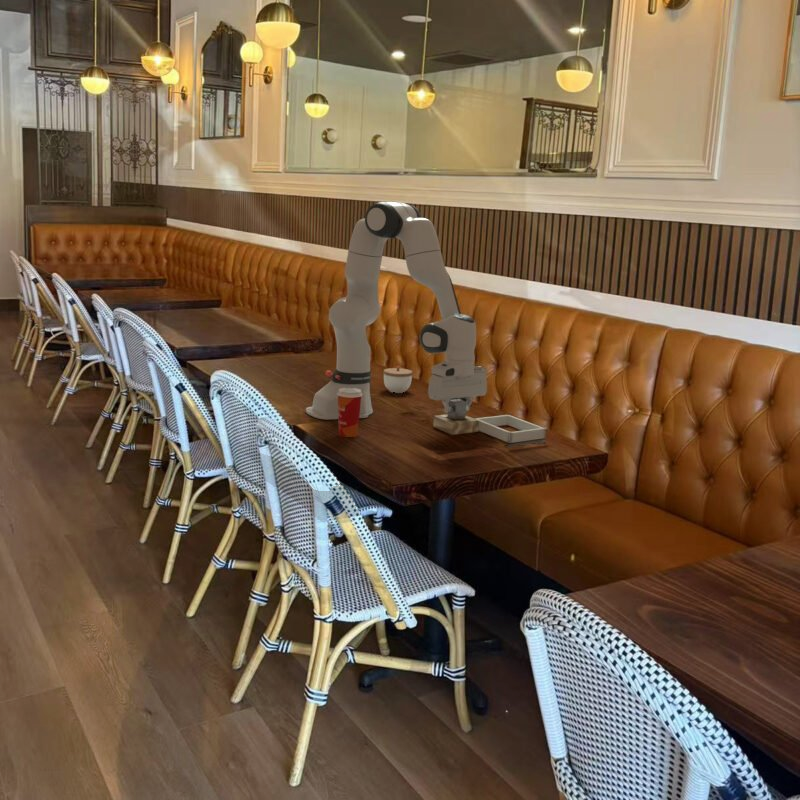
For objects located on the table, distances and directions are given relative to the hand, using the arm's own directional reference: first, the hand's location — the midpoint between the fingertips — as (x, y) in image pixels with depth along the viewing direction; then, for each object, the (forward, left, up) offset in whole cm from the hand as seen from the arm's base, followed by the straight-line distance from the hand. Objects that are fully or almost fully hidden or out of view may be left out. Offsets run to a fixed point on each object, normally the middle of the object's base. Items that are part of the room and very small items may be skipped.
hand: (456, 411), depth 270 cm
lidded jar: (+14, +57, -7) cm, 59 cm away
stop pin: (0, 0, -6) cm, 6 cm away
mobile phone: (+22, +29, -8) cm, 37 cm away
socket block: (0, 0, -7) cm, 7 cm away
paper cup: (-32, +11, -7) cm, 35 cm away
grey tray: (+13, -10, -7) cm, 18 cm away
